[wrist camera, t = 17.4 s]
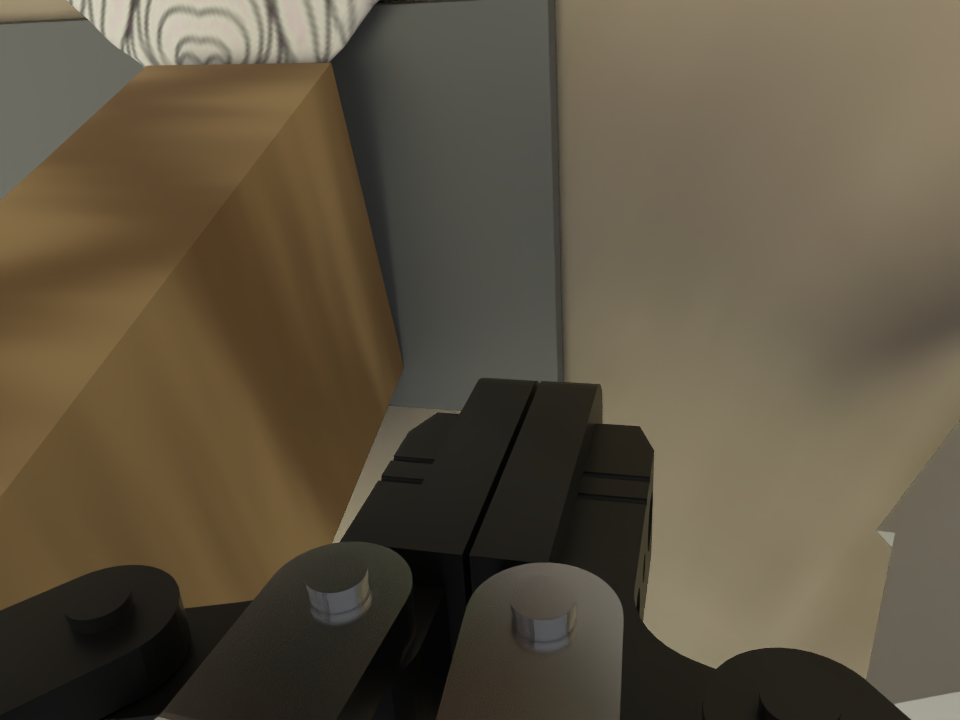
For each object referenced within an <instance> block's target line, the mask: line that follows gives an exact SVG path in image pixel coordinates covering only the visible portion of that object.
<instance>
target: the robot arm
mask: <svg viewBox="0 0 960 720" xmlns="http://www.w3.org/2000/svg"><path fill="white" fill-rule="evenodd" d="M653 471H654V449H653V448H652V446H651V445H650V443H649V441H648V440H647V438H646V436H645V435H644V433H643V431H642V430H641V428H640V426H626V425H611V424H602V390H601V385H600V384H587V383H570V382H553V381H541V382H540V383H539V382H538V381H533V380H516V379H499V378H480V379H479V380H478V382H477V383H476V385H475V387H474V389H473V391H472V393H471V394H470V396H469V398H468V400H467V402H466V403H465V405H464V407H463V409H462V411H461V413H460V414H451V413H436V414H435V415H433V416H432V417H430V418H429V419H427V420H426V421H424V422H423V423H421V424H420V425H418V426H417V427H416V428H414V429H413V430H411V431H410V432H409V433H408V434H407V436H406V437H405V439H404V441H403V442H402V444H401V445H400V447H399V449H398V450H397V452H396V453H395V455H394V461H390V463H389V465H388V466H387V468H386V469H385V471H384V473H383V474H382V479H381V481H378V482H377V484H376V485H375V487H374V488H373V490H372V492H371V493H370V495H369V496H368V498H367V500H366V501H365V503H364V504H363V506H362V508H361V509H360V511H359V512H358V514H357V516H356V517H355V519H354V520H353V522H352V524H351V525H350V527H349V528H348V530H347V531H346V533H345V535H344V536H343V538H342V539H341V541H340V543H333V544H328V545H324V546H320V547H317V548H314V549H311V550H309V551H307V552H305V553H302V554H300V555H298V556H297V557H295V558H293V559H292V560H290V561H289V562H287V563H286V564H285V565H284V566H282V567H281V568H280V569H279V570H278V571H277V572H276V573H275V574H274V575H273V577H272V578H271V579H270V580H269V581H268V583H267V584H266V585H265V586H264V588H263V589H262V590H261V591H260V593H259V594H258V595H257V596H256V597H255V599H254V600H250V601H244V602H236V603H227V604H218V605H209V606H201V607H192V608H184V605H183V602H182V598H181V594H180V590H179V586H178V584H177V583H176V581H175V579H174V578H173V577H172V576H171V575H170V574H168V573H167V572H165V571H163V570H161V569H158V568H155V567H151V566H145V565H122V566H115V567H109V568H105V569H101V570H97V571H94V572H91V573H88V574H86V575H83V576H80V577H78V578H76V579H73V580H71V581H69V582H66V583H64V584H61V585H59V586H57V587H54V588H52V589H50V590H47V591H45V592H43V593H40V594H38V595H36V596H33V597H31V598H28V599H26V600H24V601H21V602H19V603H17V604H14V605H12V606H10V607H7V608H5V609H3V610H0V720H911V719H910V718H909V717H908V716H907V715H905V714H904V713H903V712H902V711H901V710H900V709H899V708H897V707H896V706H895V705H894V704H893V703H892V702H891V701H889V700H888V699H887V698H886V697H885V696H884V695H883V694H881V693H880V692H879V691H878V690H877V689H876V688H875V687H873V686H872V685H871V684H870V683H869V682H867V681H866V680H865V679H864V678H862V677H861V676H860V675H858V674H857V673H856V672H854V671H852V670H851V669H849V668H847V667H846V666H844V665H842V664H840V663H838V662H836V661H834V660H831V659H829V658H827V657H824V656H821V655H818V654H815V653H812V652H807V651H802V650H797V649H789V648H763V649H757V650H751V651H748V652H745V653H742V654H738V655H736V656H734V657H733V658H731V659H729V660H727V661H725V662H724V663H723V664H722V665H720V666H719V667H718V668H717V669H714V668H711V667H709V666H706V665H704V664H701V663H699V662H696V661H694V660H691V659H689V658H687V657H685V656H683V655H680V654H679V653H677V652H675V651H674V650H672V649H670V648H669V647H667V646H666V645H665V644H663V643H662V642H661V641H660V640H658V639H657V638H656V637H655V636H654V635H653V634H652V633H651V632H650V631H649V630H648V629H647V627H646V626H645V624H644V623H643V617H644V608H645V600H646V592H647V584H648V576H649V568H650V560H651V543H652V507H653Z"/></svg>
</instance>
